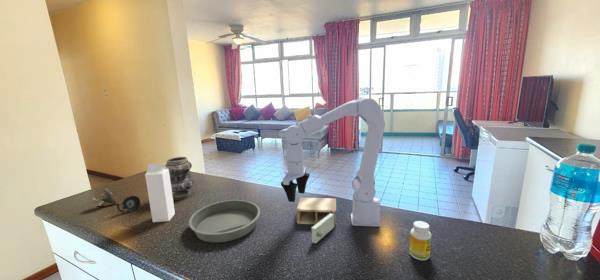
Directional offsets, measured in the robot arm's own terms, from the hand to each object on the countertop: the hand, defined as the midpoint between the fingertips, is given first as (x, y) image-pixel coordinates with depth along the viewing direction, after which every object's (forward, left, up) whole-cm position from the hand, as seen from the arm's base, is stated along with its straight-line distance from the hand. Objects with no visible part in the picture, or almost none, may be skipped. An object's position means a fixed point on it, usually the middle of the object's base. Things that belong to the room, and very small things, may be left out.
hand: (296, 197), depth 89 cm
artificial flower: (+81, -6, -11) cm, 82 cm away
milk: (+53, +1, -10) cm, 54 cm away
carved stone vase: (+59, -20, -10) cm, 63 cm away
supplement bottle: (-37, +15, -10) cm, 41 cm away
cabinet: (-7, -4, -10) cm, 13 cm away
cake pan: (+26, +4, -11) cm, 28 cm away
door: (-11, +7, -10) cm, 16 cm away
